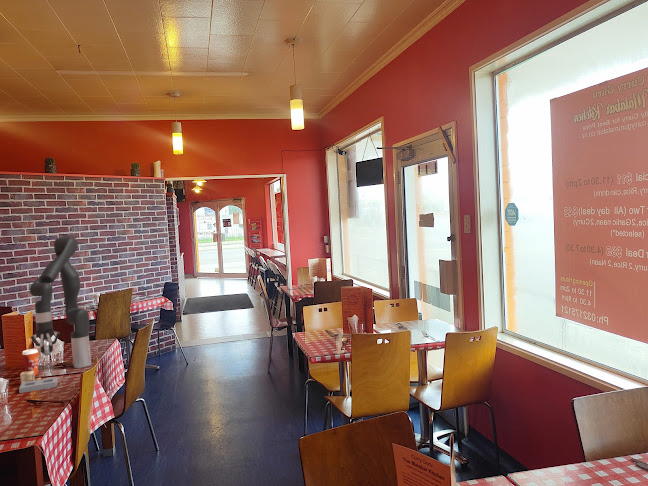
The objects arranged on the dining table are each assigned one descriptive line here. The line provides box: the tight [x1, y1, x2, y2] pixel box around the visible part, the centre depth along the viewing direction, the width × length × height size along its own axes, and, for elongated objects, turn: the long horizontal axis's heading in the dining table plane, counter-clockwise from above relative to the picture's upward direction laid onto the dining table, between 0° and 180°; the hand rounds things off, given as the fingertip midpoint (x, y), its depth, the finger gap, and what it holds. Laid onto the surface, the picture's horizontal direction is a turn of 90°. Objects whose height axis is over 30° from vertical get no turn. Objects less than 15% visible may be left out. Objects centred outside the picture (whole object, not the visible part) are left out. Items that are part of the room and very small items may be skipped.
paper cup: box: [21, 348, 39, 377], centre depth 271 cm, size 8×8×14 cm
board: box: [18, 376, 59, 394], centre depth 249 cm, size 16×10×2 cm, turn 115°
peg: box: [43, 339, 51, 356], centre depth 258 cm, size 3×3×8 cm
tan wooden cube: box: [20, 370, 36, 385], centre depth 255 cm, size 6×6×6 cm
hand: (47, 352), depth 258 cm, fingers closed on peg, 3 cm apart
